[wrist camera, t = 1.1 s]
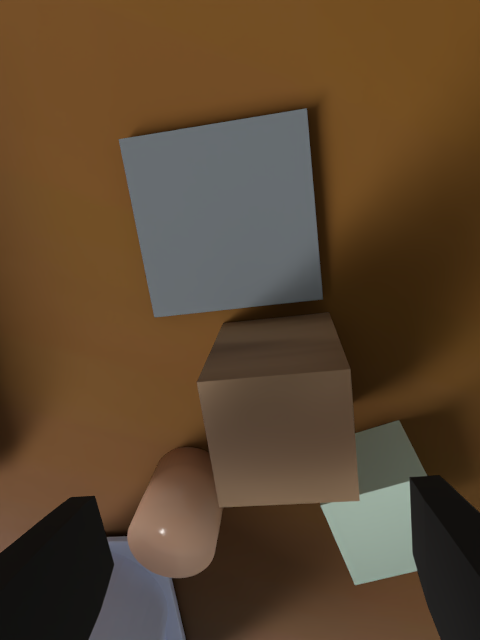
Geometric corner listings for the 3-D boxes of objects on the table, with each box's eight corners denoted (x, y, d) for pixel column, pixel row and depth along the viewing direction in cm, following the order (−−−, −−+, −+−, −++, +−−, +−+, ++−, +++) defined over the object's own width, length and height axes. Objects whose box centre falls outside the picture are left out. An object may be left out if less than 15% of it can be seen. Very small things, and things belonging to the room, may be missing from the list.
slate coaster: (321, 295, 18) (322, 299, 17) (158, 313, 19) (154, 317, 18) (306, 111, 16) (307, 108, 15) (124, 141, 17) (118, 139, 16)
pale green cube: (424, 490, 20) (457, 561, 16) (341, 512, 21) (355, 585, 17) (398, 419, 19) (427, 476, 15) (313, 444, 20) (320, 505, 16)
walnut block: (336, 408, 19) (359, 500, 13) (237, 415, 20) (219, 507, 14) (329, 311, 18) (350, 369, 12) (223, 322, 18) (196, 382, 13)
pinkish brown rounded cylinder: (232, 507, 21) (221, 577, 17) (162, 510, 22) (137, 579, 18) (222, 444, 20) (207, 503, 16) (149, 449, 21) (118, 507, 17)
